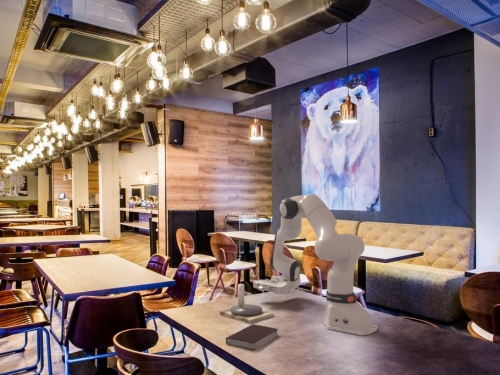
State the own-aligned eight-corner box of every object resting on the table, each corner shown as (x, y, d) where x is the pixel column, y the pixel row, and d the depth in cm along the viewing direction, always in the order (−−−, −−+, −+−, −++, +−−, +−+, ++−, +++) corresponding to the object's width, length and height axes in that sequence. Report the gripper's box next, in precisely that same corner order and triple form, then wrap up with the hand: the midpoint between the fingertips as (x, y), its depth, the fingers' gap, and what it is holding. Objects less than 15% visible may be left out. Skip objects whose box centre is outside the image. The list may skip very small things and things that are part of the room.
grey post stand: (267, 312, 178) (267, 288, 178) (238, 317, 172) (238, 292, 172) (251, 304, 193) (251, 281, 194) (224, 307, 187) (224, 284, 187)
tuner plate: (273, 315, 180) (273, 312, 180) (249, 323, 169) (249, 319, 169) (243, 307, 194) (243, 304, 194) (219, 314, 183) (219, 310, 183)
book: (225, 345, 145) (225, 336, 145) (252, 330, 161) (252, 322, 161) (253, 352, 138) (253, 342, 138) (278, 336, 155) (278, 328, 155)
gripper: (263, 276, 215) (245, 279, 205) (292, 281, 200) (275, 286, 191) (263, 287, 215) (245, 291, 205) (292, 294, 200) (275, 298, 190)
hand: (260, 289), depth 197 cm, fingers closed
